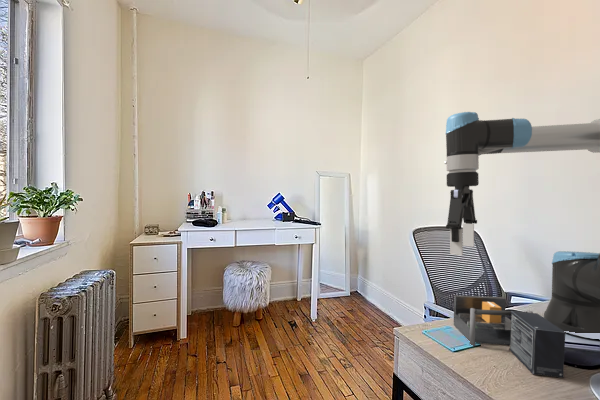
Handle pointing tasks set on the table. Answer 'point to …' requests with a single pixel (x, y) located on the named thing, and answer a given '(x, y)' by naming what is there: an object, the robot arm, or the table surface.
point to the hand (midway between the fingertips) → (462, 250)
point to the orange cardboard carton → (491, 317)
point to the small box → (537, 344)
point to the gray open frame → (484, 312)
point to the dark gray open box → (481, 320)
